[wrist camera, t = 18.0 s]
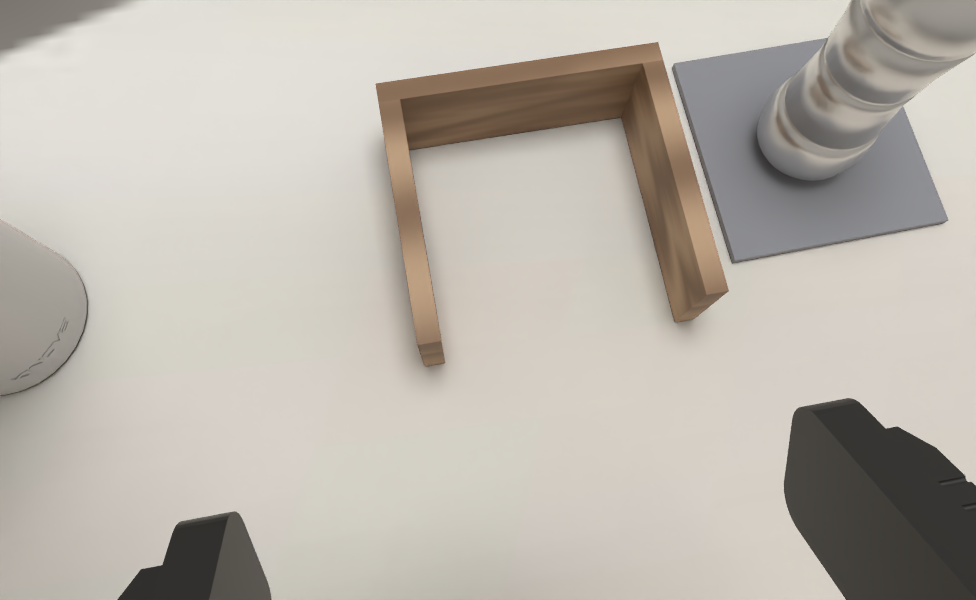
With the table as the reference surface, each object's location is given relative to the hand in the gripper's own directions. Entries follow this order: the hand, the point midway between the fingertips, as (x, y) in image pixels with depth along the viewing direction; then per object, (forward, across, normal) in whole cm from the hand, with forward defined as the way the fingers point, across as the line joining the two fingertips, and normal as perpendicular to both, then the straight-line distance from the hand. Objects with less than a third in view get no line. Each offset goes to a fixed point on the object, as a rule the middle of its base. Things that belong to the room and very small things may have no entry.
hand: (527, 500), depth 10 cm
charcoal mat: (+34, -24, +9) cm, 43 cm away
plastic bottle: (+34, -24, +9) cm, 42 cm away
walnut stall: (+32, -6, +11) cm, 35 cm away
